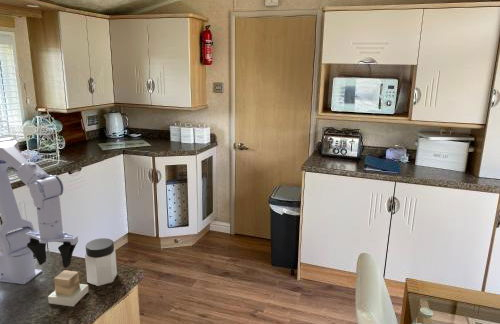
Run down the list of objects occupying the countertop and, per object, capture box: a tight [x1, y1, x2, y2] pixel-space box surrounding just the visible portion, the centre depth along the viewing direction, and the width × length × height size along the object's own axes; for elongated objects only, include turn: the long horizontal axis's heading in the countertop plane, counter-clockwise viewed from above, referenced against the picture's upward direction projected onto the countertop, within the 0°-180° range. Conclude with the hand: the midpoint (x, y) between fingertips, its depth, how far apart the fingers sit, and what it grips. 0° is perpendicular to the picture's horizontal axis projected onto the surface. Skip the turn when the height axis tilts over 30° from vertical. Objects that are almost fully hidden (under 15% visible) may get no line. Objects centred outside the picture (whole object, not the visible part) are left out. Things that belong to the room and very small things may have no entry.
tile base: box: [47, 283, 89, 307], centre depth 108 cm, size 8×8×2 cm
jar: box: [84, 237, 118, 287], centre depth 117 cm, size 9×8×12 cm
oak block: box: [53, 269, 81, 296], centre depth 107 cm, size 4×4×5 cm
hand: (54, 264), depth 106 cm, fingers open, 7 cm apart
